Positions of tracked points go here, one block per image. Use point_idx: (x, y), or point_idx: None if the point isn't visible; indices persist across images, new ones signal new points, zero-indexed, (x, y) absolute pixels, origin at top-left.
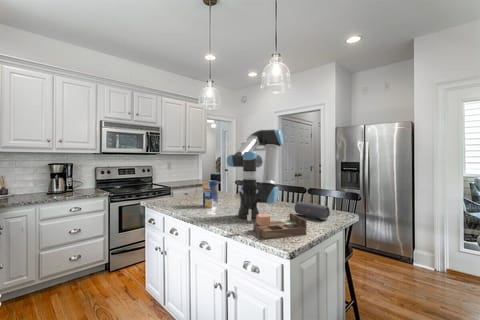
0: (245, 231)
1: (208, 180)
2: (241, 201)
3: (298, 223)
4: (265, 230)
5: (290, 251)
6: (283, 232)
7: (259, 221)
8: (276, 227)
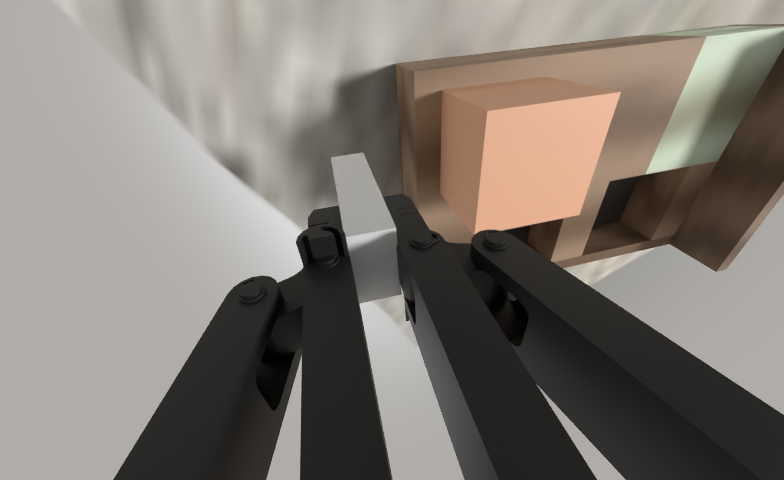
0: (309, 105)
1: None
2: (145, 463)
3: (712, 182)
4: None
5: None
6: None
7: (454, 188)
8: None
